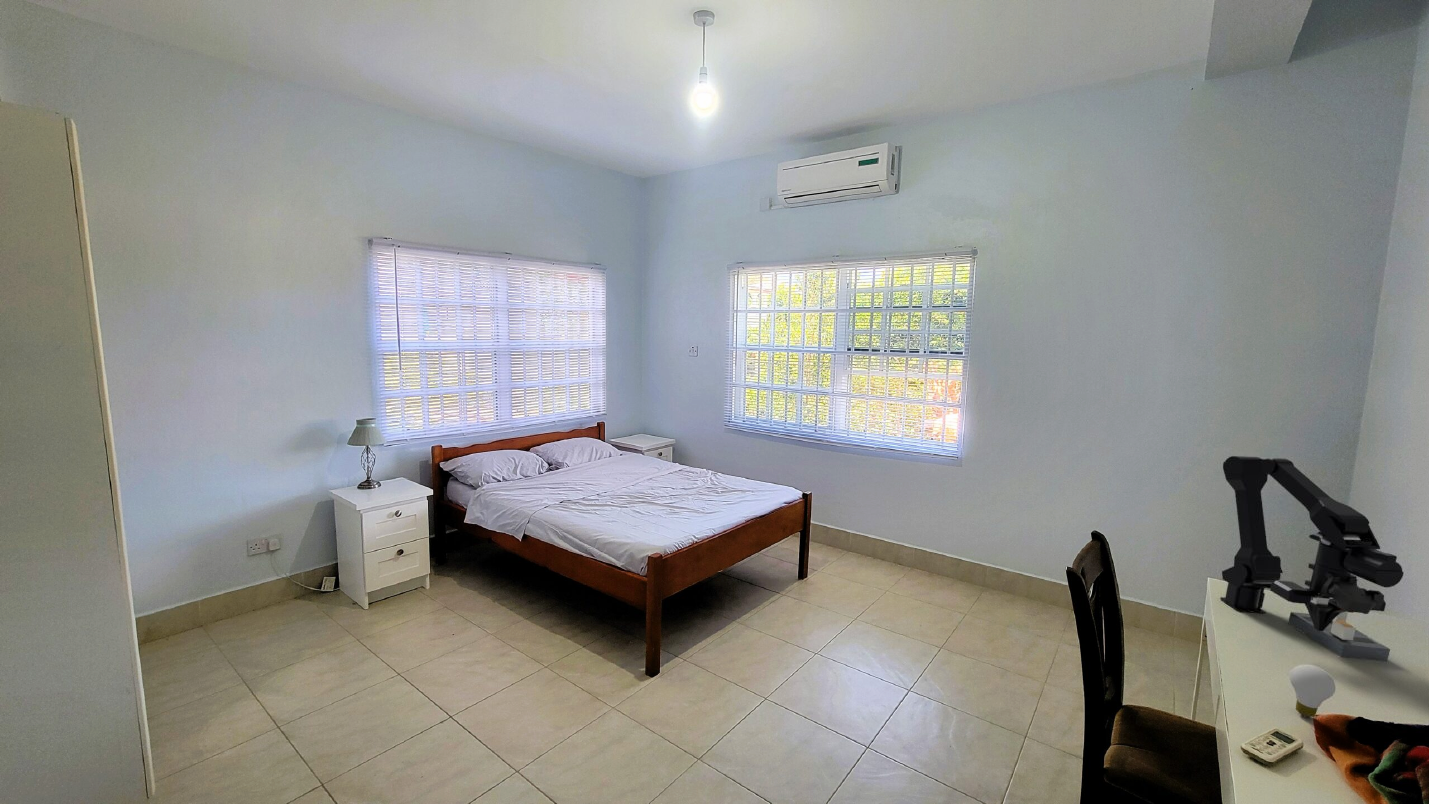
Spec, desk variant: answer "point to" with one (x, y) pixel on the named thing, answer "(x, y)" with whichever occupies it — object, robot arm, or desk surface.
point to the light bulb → (1311, 688)
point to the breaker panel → (1341, 640)
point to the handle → (1341, 616)
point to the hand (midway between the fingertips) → (1318, 630)
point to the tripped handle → (1343, 630)
